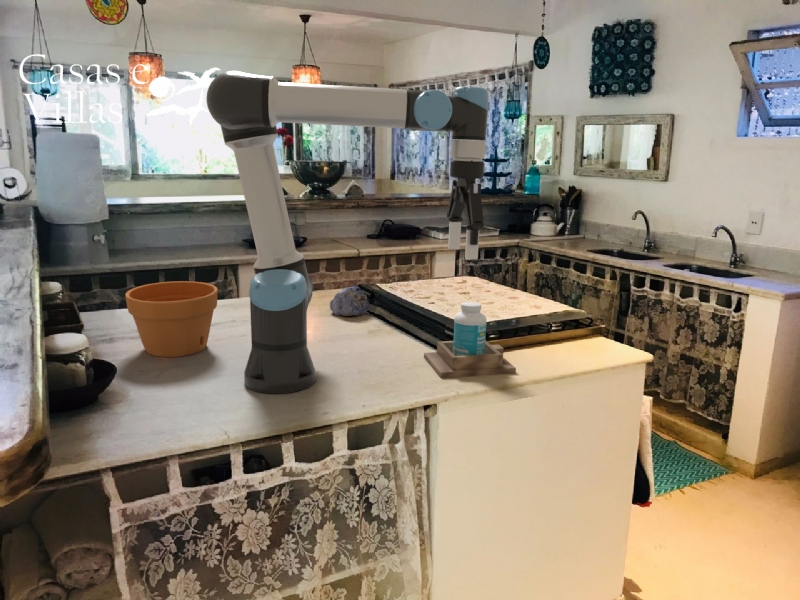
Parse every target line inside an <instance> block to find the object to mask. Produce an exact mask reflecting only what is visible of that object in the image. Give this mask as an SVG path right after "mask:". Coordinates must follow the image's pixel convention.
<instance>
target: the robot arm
mask: <svg viewBox="0 0 800 600" xmlns="http://www.w3.org/2000/svg"><path fill="white" fill-rule="evenodd" d="M206 107H207V109H208V112H209V114H210V115H211V117H212V118H213V120H214V121H215V122H216V123H217V124H218V125H219V126H220V129H221V133H222V137H223V141H224V145H225V146H226V147H227V148H230V149H231V150H232V151H233V153H234V157H235V162H236V166H237V170H238V176H239V180H240V184H241V188H242V192H243V197H244V202H245V206H246V210H247V215H248V218H249V224H250V227H251V232H252V235H253V240H254V244H255V249H256V254H257V259H256V261H255V262H254V264H253V270H254V273H255V275H254V276H253V277H251V280H250V282H249V290H248V296H249V303H250V305H249V306H250V307H249V309H250V310H249V311H250V333H251V336H250V337H251V349H250V352H249V355H248V359H247V361H246V366H245V369H244V373H243V374H244V376H243V377H244V378H243V380H244V386H246V387H247V388H248V389H250V390H251V391H255V392H258V393H264V394H288V393H295V392H299V391H302V390H305V389H307V388H310V387H311V386H312V385H314V383H315V382H316V368H315V366H314V363H313V360H312V357H311V354H310V351H309V348H308V337H307V336H308V333H307V332H308V330H307V329H308V328H307V325H308V323H307V313H308V309H309V308H308V307H309V305H310V303H311V300H312V297H313V292H314V289H313V287H314V286H313V280H312V279H311V276H310V274H309V273H308V271H307V270H308V269H307V265H306V260H305V256H304V254H302V253H301V252H299V251H297V249H296V244H295V241H294V240H295V239H294V236H293V232H292V225H291V222H290V218H289V213H288V208H287V203H286V200H285V194H284V190H283V185H282V181H281V176H280V171H279V167H278V166H279V165H278V160H277V157H276V152H275V148H274V147H275V146H274V143H275V142H276V140H277V138H278V136H279V133H278V128H277V125H278V124H279V123H287V124H289V123H290V124H307V125H308V124H309V125H325V126H326V125H327V126H328V125H329V126H347V127H348V126H349V127H369V128H388V129H389V128H390V129H392V128H393V129H401V131H402V130H403V131H411V132H416V131H418V132H447V133H448V132H451V142H450V143H451V145H450V158H452V160H451V161H450V167H449V168H450V169H449V171H450V172H449V175H450V177H451V178H455V179H452V182H451V183H452V185H451V191H450V195H449V203H448V208H447V212H446V217H447V218H448V221H449V224H448V242H447V243H448V245H447V248H448V250H460V249H461V233H462V222H463V218H462V215H463V212H464V210H465V215H466V216H465V217H466V222H467V225H466V227H465V229H464V230H466V235H465V236H466V237H465V251H464V253H465V255H464V259H465V260H479V259H478V258H479V244H480V231H481V229H484V227H485V224H484V213H483V211H484V210H483V201H482V184H481V183H476V179H483V178H484V174H485V163H484V161H482V160H484V159H485V156H486V153H485V152H486V150H488V145H486V140H487V139H486V138H487V127H488V112H489V93H488V90H487V89H486V88H484V87H480V86H479V87H478V86H458V87H456V88H454V92H453V95H450V96H449V95H447V94H446V93H444V92H443V91H441V90H440V89H434V88H433V89H432V88H430V89H426V90H423V89H421V90H420V89H405V88H388V87H387V88H385V87H373V86H372V87H371V86H370V87H369V86H357V85H355V86H352V85H335V84H334V85H333V84H321V83H320V84H317V83H300V82H299V83H298V82H280V81H279V80H277V78H276V77H275V76H273V75H260V74H253V73H248V72H244V71H239V70H229V71H228V70H227V71H225V72H222V73H220V74H218V75H217V76H216V77H215V78H213V79H212V81H211V82H210V84H209V86H208V88H207V91H206Z"/></svg>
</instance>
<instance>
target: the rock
mask: <svg viewBox="0 0 800 600" xmlns="http://www.w3.org/2000/svg"><path fill="white" fill-rule="evenodd" d="M369 305H370V301H369V298H368V295H367V293H366V291H365V290H362V288H361V287H360V286H358V285H357V286H356V285H355V286H350V287H344V288H342V289H341V290H339V292H337V293H335V295H334V297H333V298H332V299H331V300H330V302H329V310H330V311H331V312H332V313H333V314H334V315H336V316H344V317H346V316H347V317H351V316H361V315H364V314H366V313H367V312H368V310H369V309H370V307H369Z"/></svg>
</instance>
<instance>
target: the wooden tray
mask: <svg viewBox="0 0 800 600" xmlns="http://www.w3.org/2000/svg"><path fill="white" fill-rule="evenodd" d="M453 342H454V340H449V341H447V340H446V341H445V340H444V341H437V344H436V345H437V346H436V348H437V349H436V351H435V352H434V351H433V352H424V353H423V358H424V359H425V361H426V362H427V363H428V364H429V366H430V367H431V368H432V369H433V370H434V372H435V373H436V374H437V375H438V377H439V378H443V377H444V378H456V377H458V378H459V377H472V376H473V377H474V376H489V375H490V376H491V375H505V374H506V375H507V374H516V372H517V371H516V369H517V368H516V366H514V365H513V364H512V363H510V361H508V360H507V359H506V358H504V347H503V346H501V345H500V344H491V343H489V342H488V341H487V340H486V339H485V354H483V355H465V356H455V355H454V354H453V353H452V352H451V350H452V349H453Z"/></svg>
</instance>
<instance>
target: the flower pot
mask: <svg viewBox="0 0 800 600" xmlns="http://www.w3.org/2000/svg"><path fill="white" fill-rule="evenodd" d="M218 291H219V290H218V287H217V286H215V285H214V284H210V283H207V282H201V281H200V282H199V281H187V280H185V281H184V280H183V281H182V280H181V281H179V280H178V281H165V282H163V281H162V282H156V283H147V284H143V285H140V286H139V285H138V286H136V287H134V288H132V289H129V290H127V291H126V293H125V302H126V308H127V312H128V313H129V314H130V315H132V317H133V321H134V322H135V326H136V329H137V332H138V335H139V338H140V340H141V342H142V343H141V344H142V346H143V348H144V350H145V352H146V353H147V354H148V355H152V356H155V357H160V358H178V357H186V356H191V355H194V354H197V353H199V352H201V351H203V350H204V349H206V348H207V345H208V341H209V338H210V337H209V336H210V331H211V325H212V320H213V316H214V310H215V309H216V308H217V306H218Z"/></svg>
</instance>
